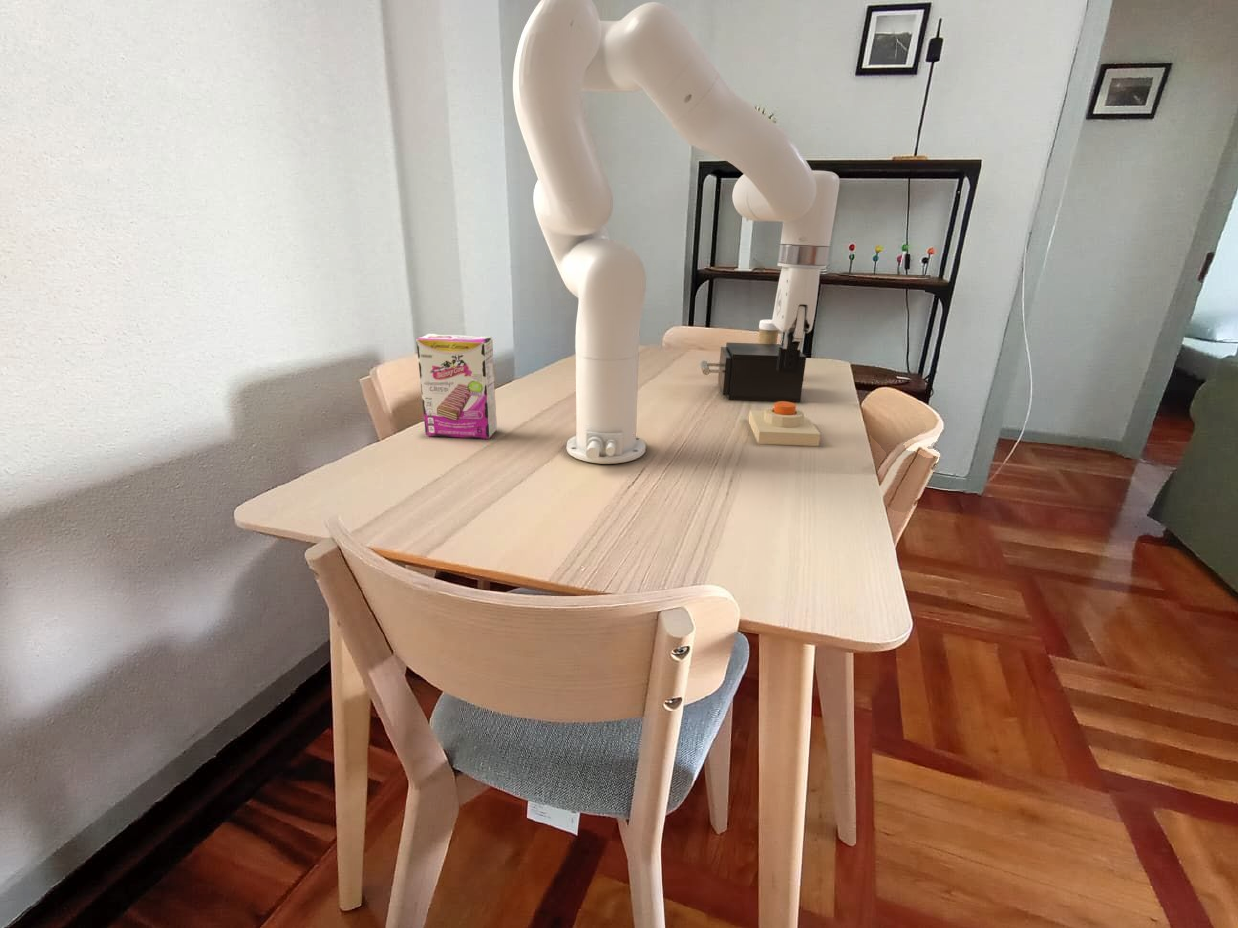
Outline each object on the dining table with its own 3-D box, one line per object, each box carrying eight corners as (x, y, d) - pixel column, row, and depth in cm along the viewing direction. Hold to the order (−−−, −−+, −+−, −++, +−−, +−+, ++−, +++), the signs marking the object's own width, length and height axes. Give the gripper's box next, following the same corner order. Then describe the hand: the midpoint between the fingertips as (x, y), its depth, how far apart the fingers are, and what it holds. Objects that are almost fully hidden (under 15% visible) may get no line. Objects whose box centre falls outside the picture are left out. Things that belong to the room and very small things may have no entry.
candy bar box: (424, 437, 102) (413, 338, 95) (435, 427, 106) (426, 332, 100) (490, 440, 101) (483, 341, 95) (498, 430, 105) (492, 335, 99)
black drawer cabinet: (728, 400, 126) (732, 354, 122) (722, 385, 137) (726, 342, 134) (800, 403, 125) (806, 356, 121) (788, 387, 137) (793, 344, 133)
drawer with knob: (701, 394, 126) (704, 357, 123) (698, 380, 137) (701, 346, 134) (788, 397, 125) (793, 360, 122) (778, 383, 136) (783, 348, 133)
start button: (796, 417, 104) (798, 407, 103) (775, 416, 104) (776, 406, 103) (792, 411, 107) (793, 401, 107) (771, 410, 107) (773, 400, 107)
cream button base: (818, 446, 101) (822, 423, 100) (757, 443, 102) (760, 421, 100) (803, 423, 112) (806, 402, 111) (748, 421, 113) (750, 400, 111)
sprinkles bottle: (752, 379, 143) (758, 321, 138) (755, 375, 147) (761, 318, 142) (772, 381, 141) (779, 322, 136) (774, 377, 145) (781, 319, 140)
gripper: (771, 254, 103) (757, 361, 110) (788, 259, 89) (771, 381, 96) (815, 256, 103) (799, 363, 110) (839, 261, 89) (819, 384, 96)
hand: (786, 371), depth 103 cm, fingers closed
